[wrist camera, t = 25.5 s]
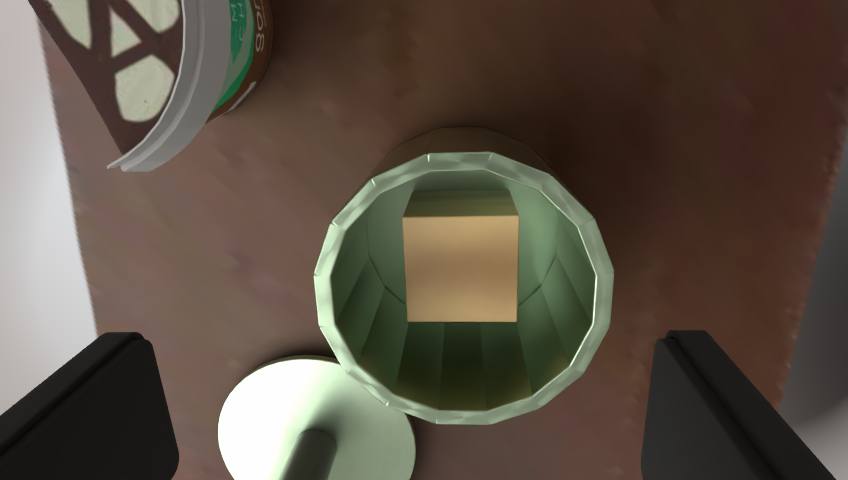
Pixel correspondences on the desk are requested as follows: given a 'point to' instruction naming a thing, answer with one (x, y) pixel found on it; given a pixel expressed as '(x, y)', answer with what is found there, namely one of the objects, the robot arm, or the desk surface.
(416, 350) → the tin
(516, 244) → the block
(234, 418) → the lid
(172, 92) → the food container
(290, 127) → the desk surface
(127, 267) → the desk surface
